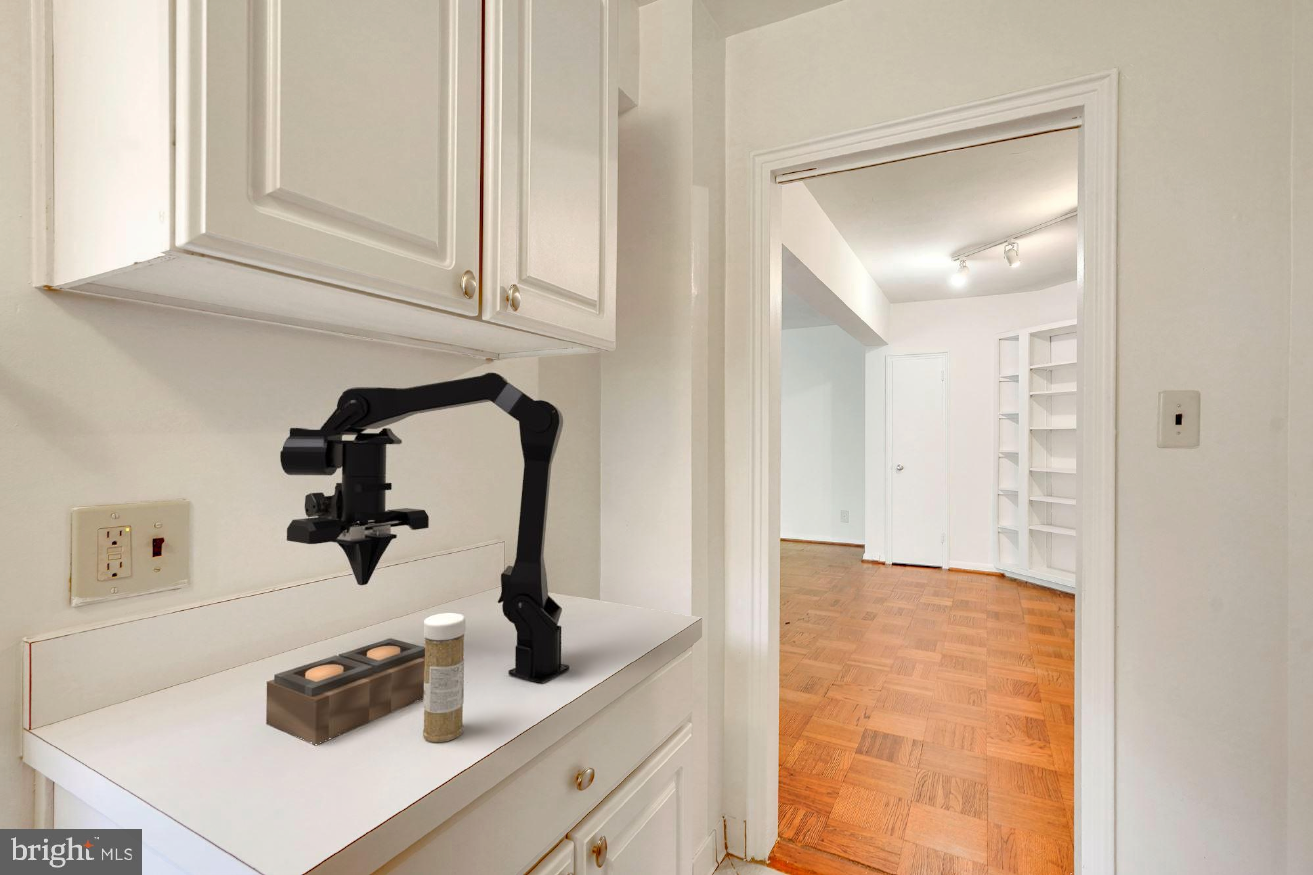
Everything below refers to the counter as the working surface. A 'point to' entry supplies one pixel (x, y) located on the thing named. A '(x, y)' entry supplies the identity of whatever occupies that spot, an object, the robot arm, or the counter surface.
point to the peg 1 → (323, 672)
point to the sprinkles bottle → (443, 676)
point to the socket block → (345, 692)
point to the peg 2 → (383, 652)
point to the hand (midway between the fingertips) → (362, 584)
